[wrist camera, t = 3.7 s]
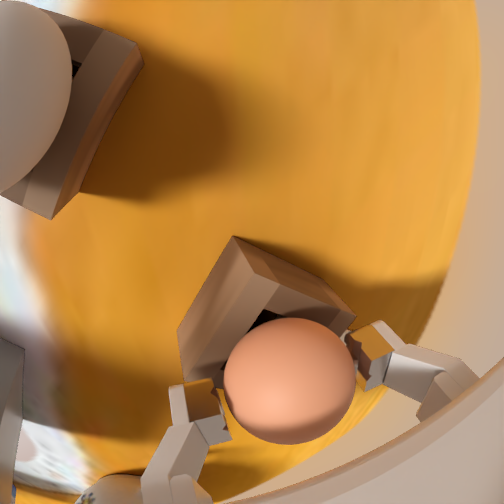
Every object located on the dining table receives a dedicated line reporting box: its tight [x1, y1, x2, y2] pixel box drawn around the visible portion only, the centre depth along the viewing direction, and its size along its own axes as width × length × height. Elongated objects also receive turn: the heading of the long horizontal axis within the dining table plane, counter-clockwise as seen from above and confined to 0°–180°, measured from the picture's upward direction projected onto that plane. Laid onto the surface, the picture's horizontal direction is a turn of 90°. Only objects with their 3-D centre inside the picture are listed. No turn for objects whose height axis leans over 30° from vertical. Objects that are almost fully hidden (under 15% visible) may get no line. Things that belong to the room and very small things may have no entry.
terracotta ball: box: [223, 318, 356, 445], centre depth 9 cm, size 4×4×4 cm
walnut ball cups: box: [0, 0, 357, 389], centre depth 9 cm, size 9×16×3 cm, turn 58°
